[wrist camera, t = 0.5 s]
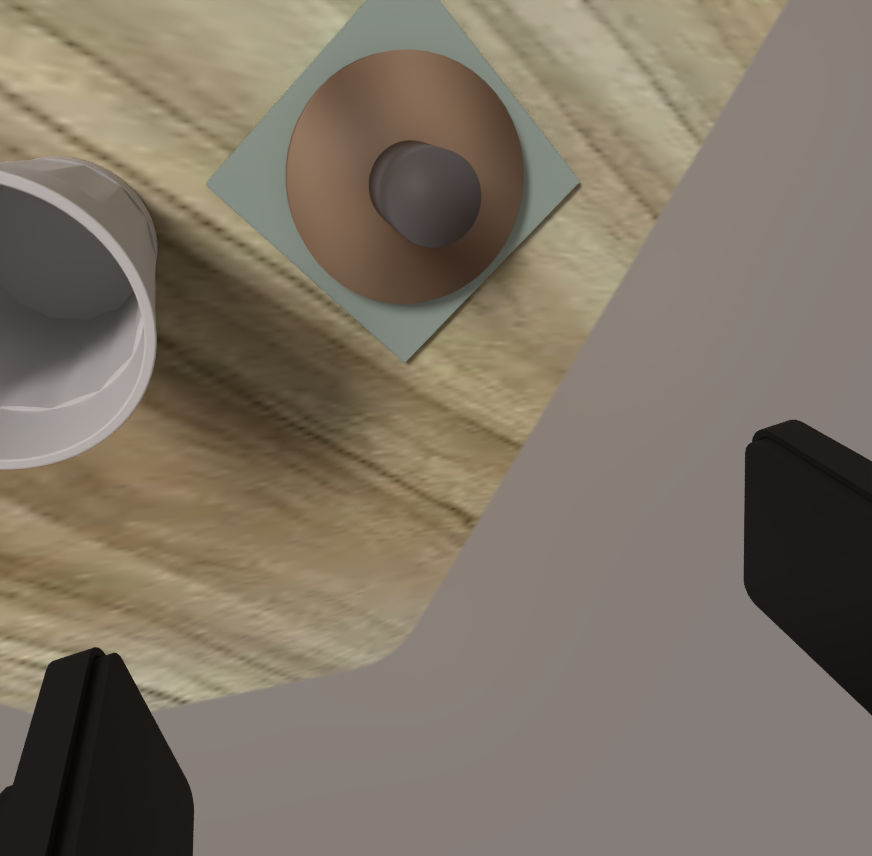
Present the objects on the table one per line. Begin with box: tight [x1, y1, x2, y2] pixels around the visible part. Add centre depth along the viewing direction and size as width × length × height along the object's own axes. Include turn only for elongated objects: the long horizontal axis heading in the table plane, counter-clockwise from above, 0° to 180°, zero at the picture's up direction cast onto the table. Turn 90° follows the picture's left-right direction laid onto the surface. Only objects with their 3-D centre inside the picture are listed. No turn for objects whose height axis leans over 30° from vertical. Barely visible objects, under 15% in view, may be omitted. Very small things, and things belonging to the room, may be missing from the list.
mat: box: [206, 0, 580, 363], centre depth 31 cm, size 12×12×1 cm
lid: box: [286, 49, 524, 304], centre depth 29 cm, size 10×10×5 cm
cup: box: [0, 156, 158, 470], centre depth 24 cm, size 8×8×12 cm
